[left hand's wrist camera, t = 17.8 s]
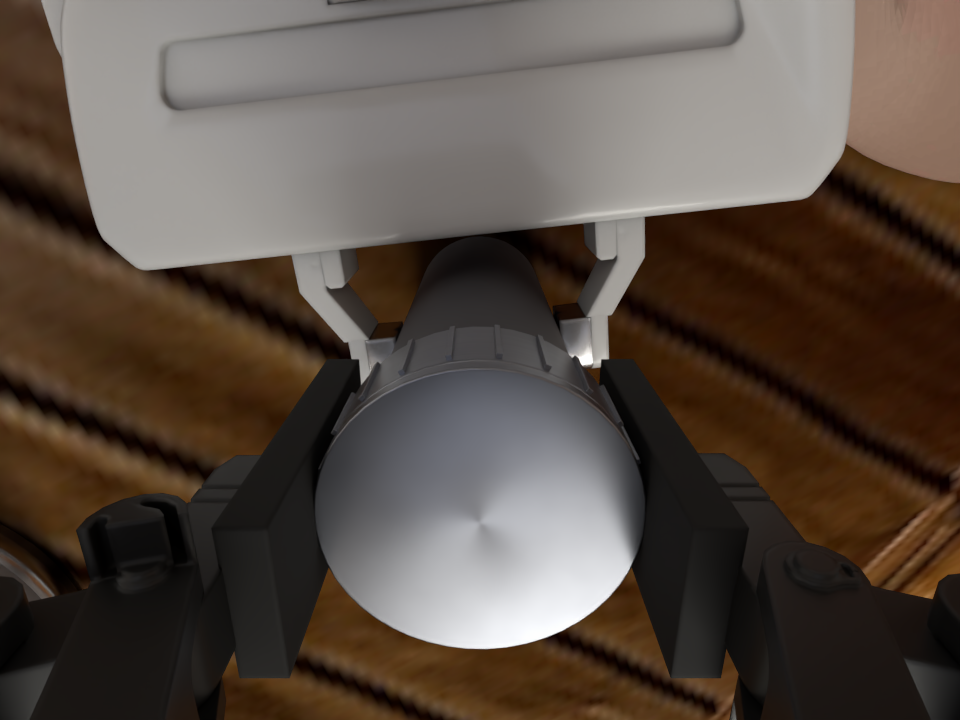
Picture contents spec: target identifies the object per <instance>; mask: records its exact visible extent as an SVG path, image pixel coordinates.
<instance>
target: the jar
mask: <svg viewBox="0 0 960 720" xmlns="http://www.w3.org/2000/svg"><path fill="white" fill-rule="evenodd" d="M494 325H500V328H504V329H510V330H515V331H519V332H522V333H526V334H529V335H532V336H535V337H537V335H540V336H543V340H544V341H547V342H549V343H551V344H552V345H554V346H556V347H558V348H559V349H561V350H563V351H564V352H566V353H567V354H568V351H567V349H566V347H565V344H564V342H563V339H562V337H561V334H560V332H559V329H558V327H557V325H556V322H555V320H554V317H553V315H552V312H551V310H550V308H549V305H548V303H547V300H546V298H545V295H544V293H543V290H542V288H541V286H540V283H539V281H538V278H537V276H536V274H535V271H534V269H533V267H532V265H531V264H530V262H529V261H528V260H527V258H526V257H525V256H524V255H523V254H522V253H521V252H520V251H519V250H518V249H516V248H515V247H514V246H512V245H510V244H508V243H506V242H504V241H502V240H499V239H496V238H491V237H483V236H479V237H469V238H464V239H461V240H458V241H456V242H454V243H452V244H450V245H448V246H447V247H445V248H444V249H443V250H441V251H440V252H439V253H438V254H437V255H436V256H435V257H434V258H433V260H432V261H431V263H430V264H429V265H428V267H427V269H426V271H425V274H424V276H423V278H422V281H421V283H420V286H419V288H418V291H417V293H416V296H415V298H414V300H413V303H412V305H411V308H410V310H409V313H408V315H407V317H406V320H405V322H404V325H403V327H402V330H401V332H400V334H399V337H398V339H397V342H396V344H395V347H394V349H393V351H392V354H393V353H395V352H396V351H397V350H399V349H400V348H402V347H404V346H406V345H407V343H408V341H409V340H411V339H414V341H415V340H418V339H420V338H423V337H426V336H428V335H431V334H434V333H437V332H442V331H446V330H449V329H450V327H451V326H455V327H456V328H465V327H494ZM392 354H391V355H392Z"/></svg>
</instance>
